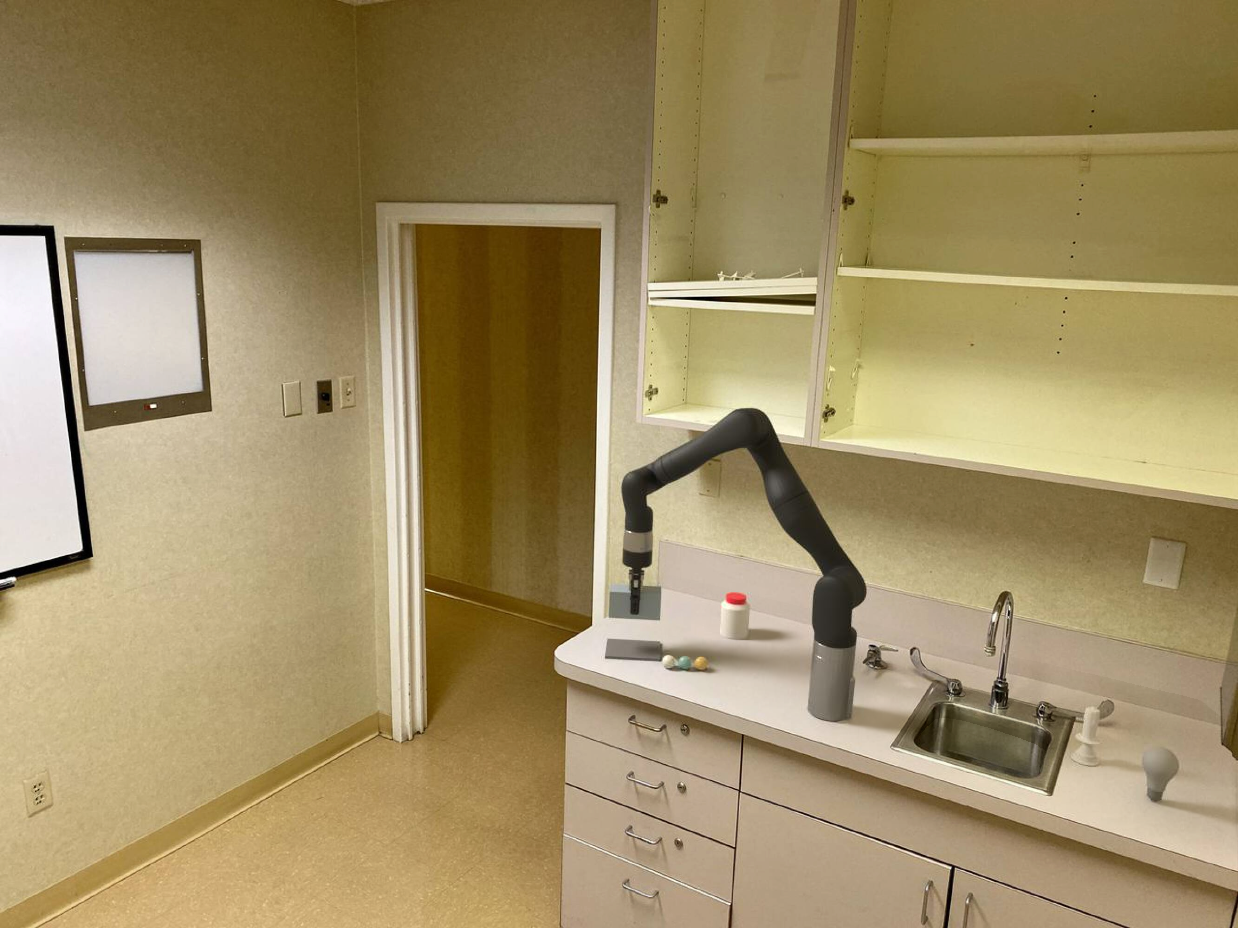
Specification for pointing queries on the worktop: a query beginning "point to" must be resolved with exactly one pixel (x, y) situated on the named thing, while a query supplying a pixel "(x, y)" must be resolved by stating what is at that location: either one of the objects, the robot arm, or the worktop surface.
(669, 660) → the marble white
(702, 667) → the marble amber
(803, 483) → the robot arm
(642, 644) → the mat
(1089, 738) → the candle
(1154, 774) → the lightbulb
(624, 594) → the cover
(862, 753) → the worktop surface
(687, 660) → the marble teal
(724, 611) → the pill bottle
